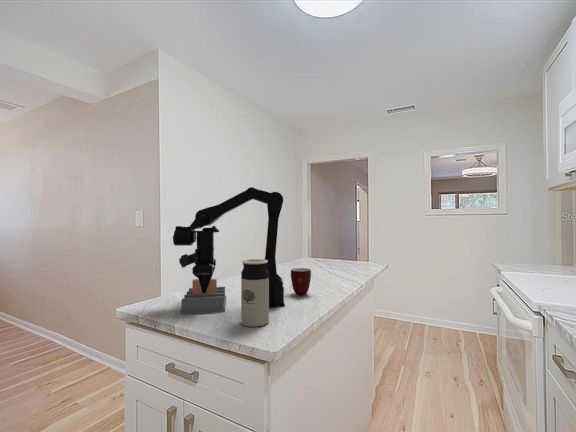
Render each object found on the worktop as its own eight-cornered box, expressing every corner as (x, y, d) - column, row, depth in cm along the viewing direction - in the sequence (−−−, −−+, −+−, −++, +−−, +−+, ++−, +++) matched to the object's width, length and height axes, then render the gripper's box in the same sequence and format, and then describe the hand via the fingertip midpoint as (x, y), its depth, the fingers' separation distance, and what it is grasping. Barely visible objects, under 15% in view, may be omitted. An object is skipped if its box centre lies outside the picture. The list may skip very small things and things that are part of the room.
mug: (312, 299, 109) (312, 272, 109) (291, 299, 109) (291, 272, 109) (310, 292, 120) (309, 268, 120) (290, 292, 120) (290, 268, 120)
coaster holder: (226, 298, 110) (226, 286, 110) (224, 311, 94) (224, 297, 94) (187, 300, 107) (187, 288, 108) (179, 314, 92) (179, 299, 92)
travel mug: (255, 316, 90) (255, 258, 90) (274, 321, 85) (274, 260, 85) (235, 323, 84) (235, 261, 84) (254, 329, 79) (254, 263, 79)
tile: (216, 300, 103) (216, 278, 103) (216, 302, 100) (216, 279, 101) (193, 302, 101) (193, 279, 101) (192, 304, 99) (192, 280, 99)
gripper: (185, 243, 109) (185, 285, 109) (175, 248, 91) (175, 298, 90) (215, 243, 111) (216, 284, 111) (212, 247, 93) (212, 296, 92)
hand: (205, 290), depth 101 cm, fingers open, 8 cm apart
